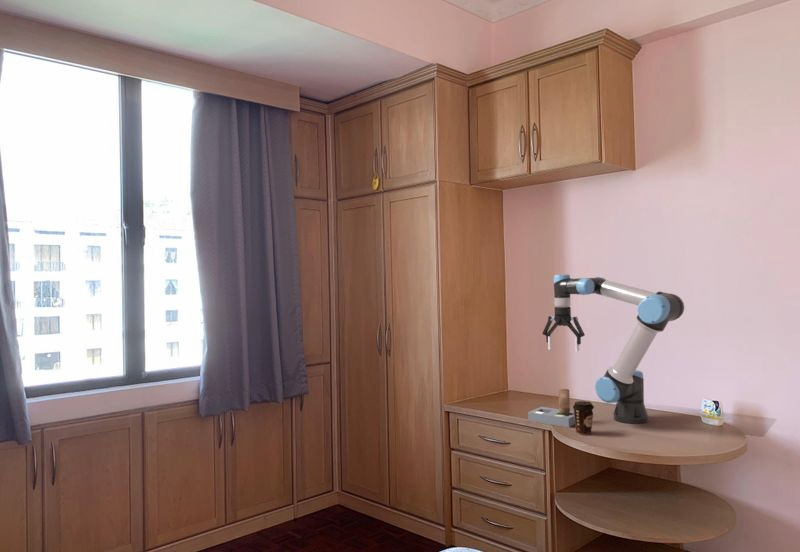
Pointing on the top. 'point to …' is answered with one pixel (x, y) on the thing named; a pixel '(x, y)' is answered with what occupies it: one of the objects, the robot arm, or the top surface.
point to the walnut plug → (564, 402)
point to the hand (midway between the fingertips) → (563, 350)
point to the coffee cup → (583, 417)
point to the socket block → (551, 417)
